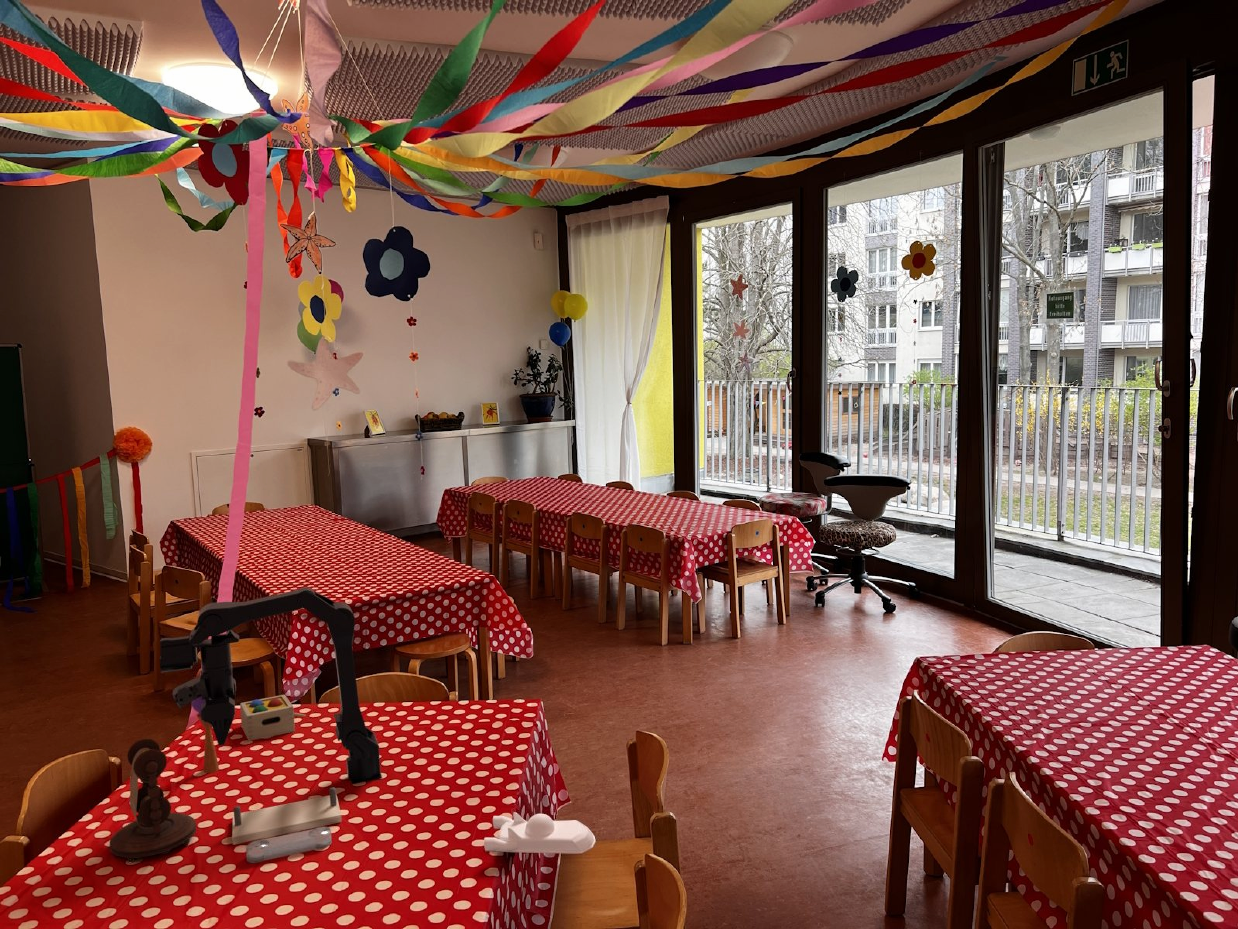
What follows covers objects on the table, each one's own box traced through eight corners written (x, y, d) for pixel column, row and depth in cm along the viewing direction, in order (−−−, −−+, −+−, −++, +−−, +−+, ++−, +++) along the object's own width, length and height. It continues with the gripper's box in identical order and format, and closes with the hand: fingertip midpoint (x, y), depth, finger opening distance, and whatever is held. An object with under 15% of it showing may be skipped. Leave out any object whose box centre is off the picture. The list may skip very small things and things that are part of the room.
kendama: (201, 780, 200) (194, 693, 198) (194, 771, 205) (187, 687, 203) (229, 772, 204) (222, 687, 202) (221, 764, 208) (214, 680, 207)
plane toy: (593, 860, 162) (592, 829, 161) (484, 860, 163) (482, 829, 163) (598, 831, 172) (596, 802, 172) (495, 831, 174) (494, 802, 173)
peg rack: (336, 801, 188) (335, 778, 187) (341, 822, 179) (339, 798, 178) (233, 821, 180) (231, 798, 180) (232, 845, 171) (230, 820, 171)
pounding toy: (320, 726, 231) (318, 695, 230) (253, 746, 219) (250, 714, 218) (289, 709, 244) (287, 679, 243) (224, 728, 231) (222, 697, 231)
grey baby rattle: (330, 837, 173) (329, 825, 173) (332, 846, 170) (331, 834, 169) (247, 855, 168) (246, 842, 167) (247, 865, 164) (246, 853, 164)
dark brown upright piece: (105, 842, 174) (95, 743, 172) (187, 818, 183) (179, 723, 181) (117, 874, 162) (107, 768, 160) (204, 846, 171) (196, 746, 169)
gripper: (176, 658, 192) (182, 728, 193) (169, 684, 175) (176, 761, 176) (233, 650, 196) (238, 719, 197) (231, 675, 179) (237, 750, 180)
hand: (222, 737), depth 188 cm, fingers open, 9 cm apart
